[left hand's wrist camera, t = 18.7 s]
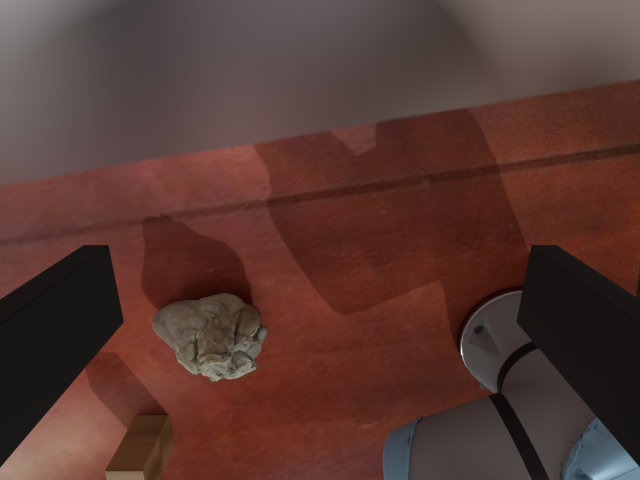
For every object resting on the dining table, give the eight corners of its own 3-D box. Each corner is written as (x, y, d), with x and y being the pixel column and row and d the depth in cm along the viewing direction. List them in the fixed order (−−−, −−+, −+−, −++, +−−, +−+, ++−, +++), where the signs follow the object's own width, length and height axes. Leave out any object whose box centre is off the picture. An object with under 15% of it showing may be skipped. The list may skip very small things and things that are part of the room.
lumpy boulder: (161, 269, 53) (261, 278, 48) (195, 320, 60) (285, 333, 55) (106, 341, 45) (218, 362, 40) (152, 390, 52) (252, 413, 47)
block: (136, 414, 60) (104, 471, 51) (168, 414, 60) (142, 471, 51) (143, 447, 62) (113, 506, 53) (174, 447, 62) (150, 506, 53)
